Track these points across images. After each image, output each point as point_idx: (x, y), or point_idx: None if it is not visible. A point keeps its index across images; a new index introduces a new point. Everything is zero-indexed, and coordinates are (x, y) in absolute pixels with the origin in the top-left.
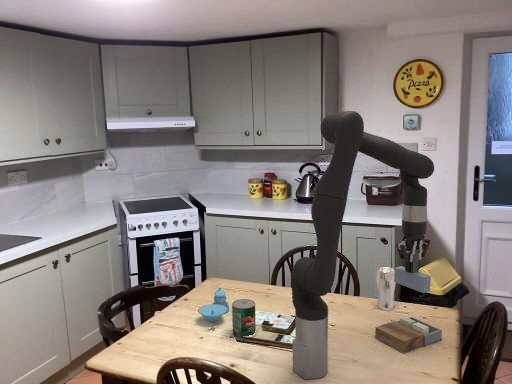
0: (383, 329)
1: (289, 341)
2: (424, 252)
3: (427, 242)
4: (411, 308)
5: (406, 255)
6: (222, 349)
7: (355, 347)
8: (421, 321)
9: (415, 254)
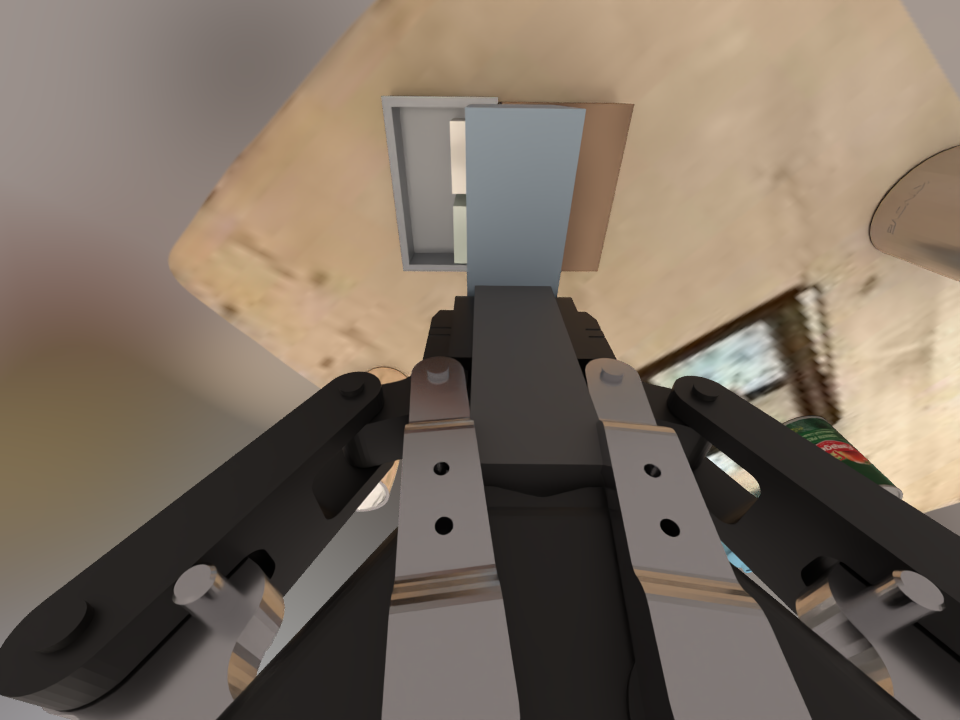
0: (593, 240)
1: (770, 364)
2: (329, 422)
3: (137, 612)
4: (314, 345)
5: (761, 438)
6: (901, 406)
7: (688, 244)
8: (401, 217)
9: (551, 421)
